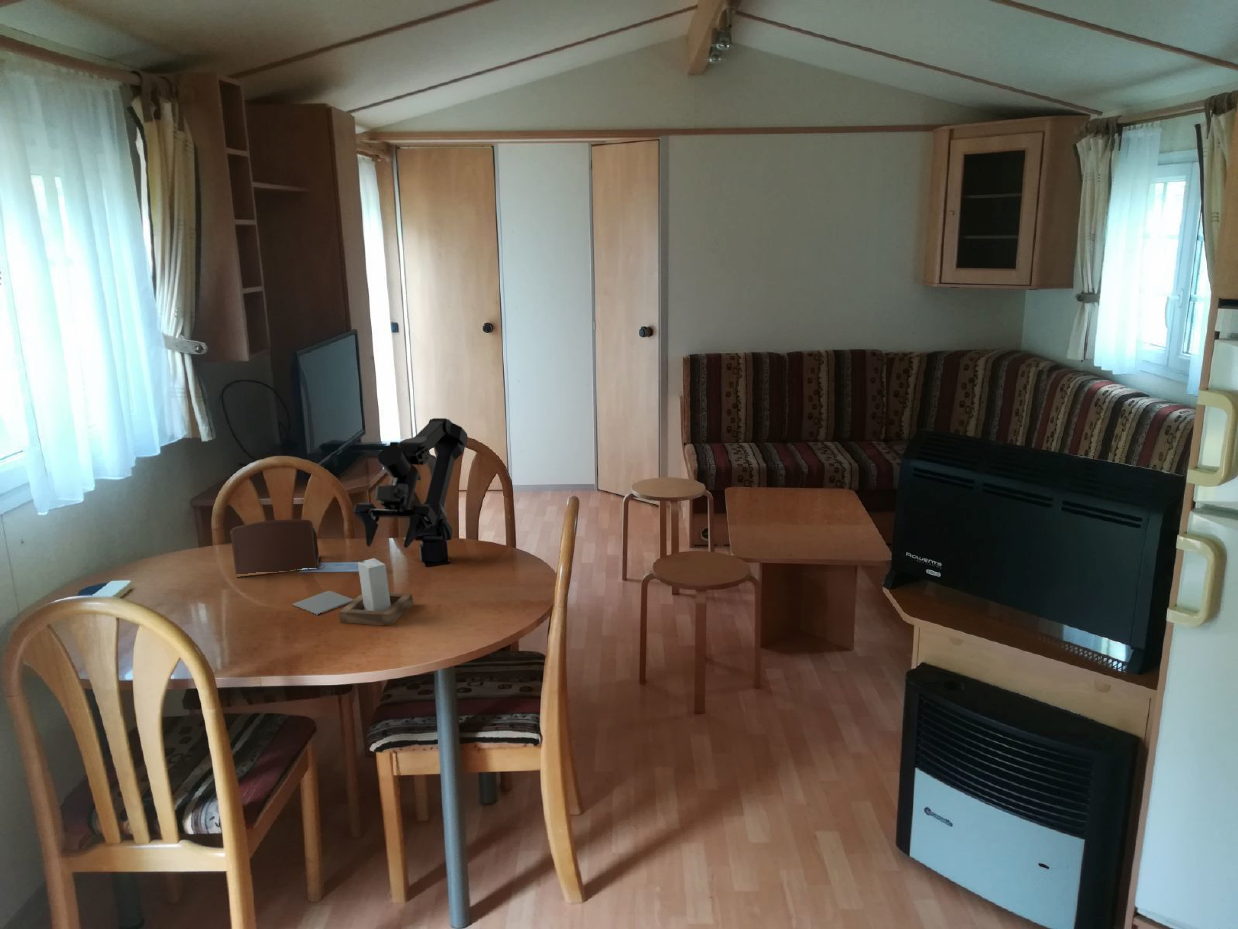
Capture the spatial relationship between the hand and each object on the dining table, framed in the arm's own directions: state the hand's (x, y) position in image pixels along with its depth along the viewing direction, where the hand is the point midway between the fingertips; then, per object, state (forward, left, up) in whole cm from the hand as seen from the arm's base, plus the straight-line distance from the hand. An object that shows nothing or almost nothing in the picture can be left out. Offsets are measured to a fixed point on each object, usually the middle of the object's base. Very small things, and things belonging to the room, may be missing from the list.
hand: (386, 546), depth 210 cm
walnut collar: (+4, +6, -13) cm, 15 cm away
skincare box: (+4, +6, -13) cm, 15 cm away
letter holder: (+24, -36, -14) cm, 46 cm away
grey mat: (+15, -5, -13) cm, 21 cm away
